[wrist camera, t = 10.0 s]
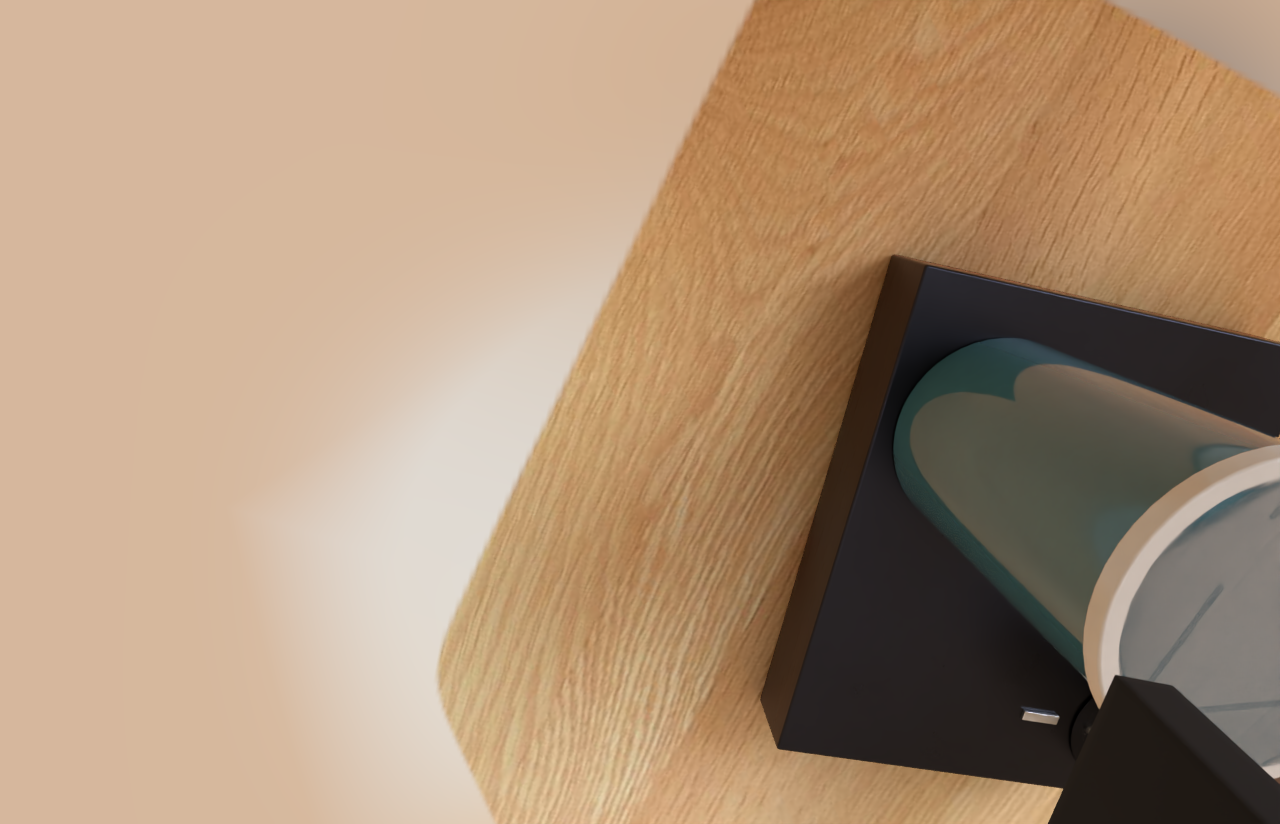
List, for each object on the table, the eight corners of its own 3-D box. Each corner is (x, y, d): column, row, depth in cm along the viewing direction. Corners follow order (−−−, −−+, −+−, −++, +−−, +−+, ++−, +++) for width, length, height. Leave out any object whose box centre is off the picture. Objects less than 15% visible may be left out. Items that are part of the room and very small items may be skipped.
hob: (891, 253, 29) (928, 264, 26) (1326, 351, 32) (1406, 372, 29) (751, 727, 34) (768, 782, 31) (1135, 781, 37) (1186, 837, 34)
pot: (922, 306, 27) (1185, 418, 15) (1133, 352, 28) (1527, 489, 16) (856, 520, 29) (1045, 760, 17) (1055, 556, 30) (1358, 805, 18)
